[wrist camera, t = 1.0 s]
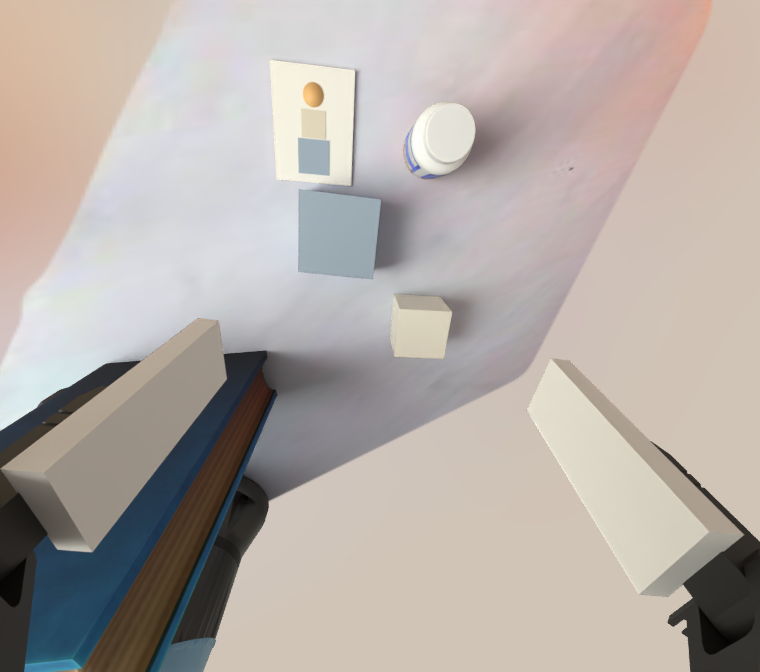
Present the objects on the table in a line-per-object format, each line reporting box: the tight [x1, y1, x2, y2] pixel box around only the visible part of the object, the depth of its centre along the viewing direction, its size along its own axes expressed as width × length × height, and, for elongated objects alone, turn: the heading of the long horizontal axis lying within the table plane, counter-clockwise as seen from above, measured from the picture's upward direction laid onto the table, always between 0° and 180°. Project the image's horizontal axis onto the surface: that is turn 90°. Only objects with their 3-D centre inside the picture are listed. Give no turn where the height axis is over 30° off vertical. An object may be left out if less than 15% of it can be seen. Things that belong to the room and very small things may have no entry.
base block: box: [298, 189, 381, 279], centre depth 33 cm, size 8×8×5 cm
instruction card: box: [270, 60, 355, 186], centre depth 31 cm, size 10×8×1 cm
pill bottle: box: [403, 102, 476, 179], centre depth 28 cm, size 5×5×10 cm
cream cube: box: [390, 294, 452, 359], centre depth 37 cm, size 6×6×6 cm
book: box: [0, 351, 277, 672], centre depth 28 cm, size 24×9×30 cm, turn 94°
